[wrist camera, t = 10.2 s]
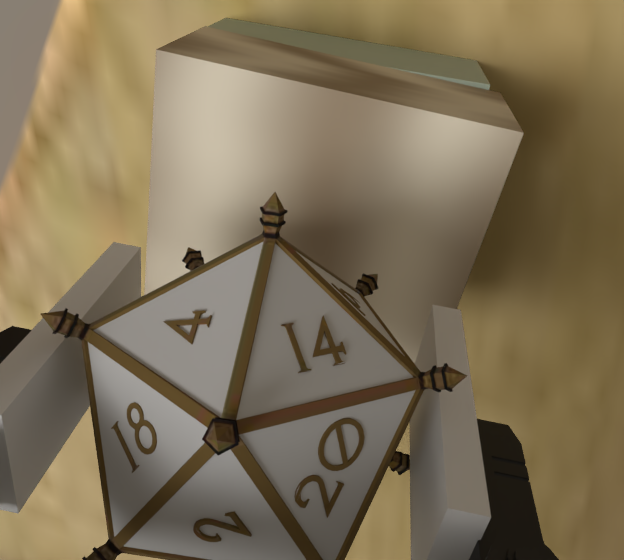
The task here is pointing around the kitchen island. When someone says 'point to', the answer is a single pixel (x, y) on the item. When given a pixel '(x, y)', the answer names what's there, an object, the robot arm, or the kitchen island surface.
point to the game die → (246, 407)
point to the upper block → (325, 167)
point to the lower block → (367, 52)
